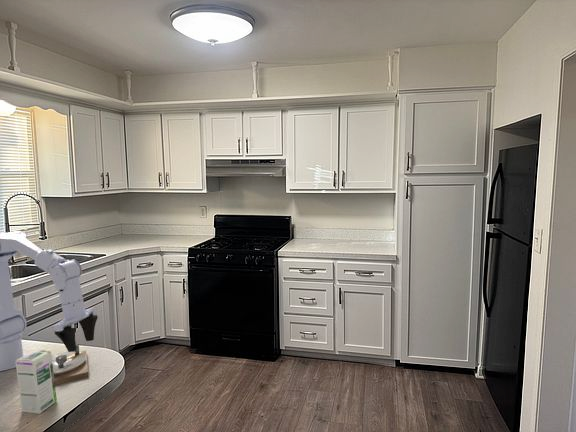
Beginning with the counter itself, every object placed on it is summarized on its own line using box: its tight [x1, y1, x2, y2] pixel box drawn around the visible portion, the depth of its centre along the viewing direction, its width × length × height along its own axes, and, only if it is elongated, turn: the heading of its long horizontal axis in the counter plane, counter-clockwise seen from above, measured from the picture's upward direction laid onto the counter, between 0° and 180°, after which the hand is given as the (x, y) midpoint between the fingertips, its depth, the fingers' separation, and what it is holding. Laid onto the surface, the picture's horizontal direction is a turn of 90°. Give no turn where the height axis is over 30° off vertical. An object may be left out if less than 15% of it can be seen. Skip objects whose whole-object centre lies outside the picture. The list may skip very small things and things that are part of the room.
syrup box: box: [15, 349, 58, 415], centre depth 101 cm, size 6×6×14 cm
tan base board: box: [54, 349, 89, 386], centre depth 121 cm, size 17×14×2 cm
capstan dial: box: [52, 343, 85, 376], centre depth 121 cm, size 13×13×4 cm
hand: (81, 345), depth 115 cm, fingers open, 7 cm apart
